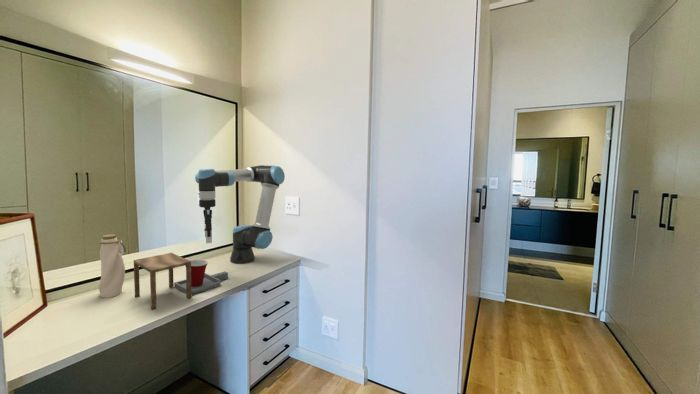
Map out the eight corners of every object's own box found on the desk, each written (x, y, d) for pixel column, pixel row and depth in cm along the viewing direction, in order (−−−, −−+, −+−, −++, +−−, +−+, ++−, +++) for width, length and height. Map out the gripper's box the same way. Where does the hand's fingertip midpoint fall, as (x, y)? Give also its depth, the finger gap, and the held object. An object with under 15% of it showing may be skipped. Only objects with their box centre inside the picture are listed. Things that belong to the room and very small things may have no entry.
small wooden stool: (172, 286, 146) (171, 252, 145) (191, 297, 135) (190, 261, 133) (134, 296, 133) (133, 260, 132) (152, 310, 122) (151, 270, 120)
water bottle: (125, 287, 143) (123, 232, 140) (128, 293, 136) (126, 235, 134) (98, 293, 135) (95, 234, 133) (99, 299, 129) (97, 238, 126)
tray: (218, 274, 164) (218, 268, 164) (234, 281, 155) (234, 275, 155) (174, 286, 145) (174, 280, 145) (189, 295, 136) (189, 289, 136)
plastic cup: (213, 283, 149) (213, 261, 148) (192, 290, 140) (192, 266, 139) (200, 278, 154) (200, 257, 153) (180, 285, 145) (179, 262, 144)
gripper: (198, 196, 156) (199, 234, 159) (199, 202, 134) (200, 246, 137) (213, 196, 160) (214, 233, 162) (217, 201, 138) (218, 245, 140)
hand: (208, 239), depth 149 cm, fingers open, 13 cm apart
